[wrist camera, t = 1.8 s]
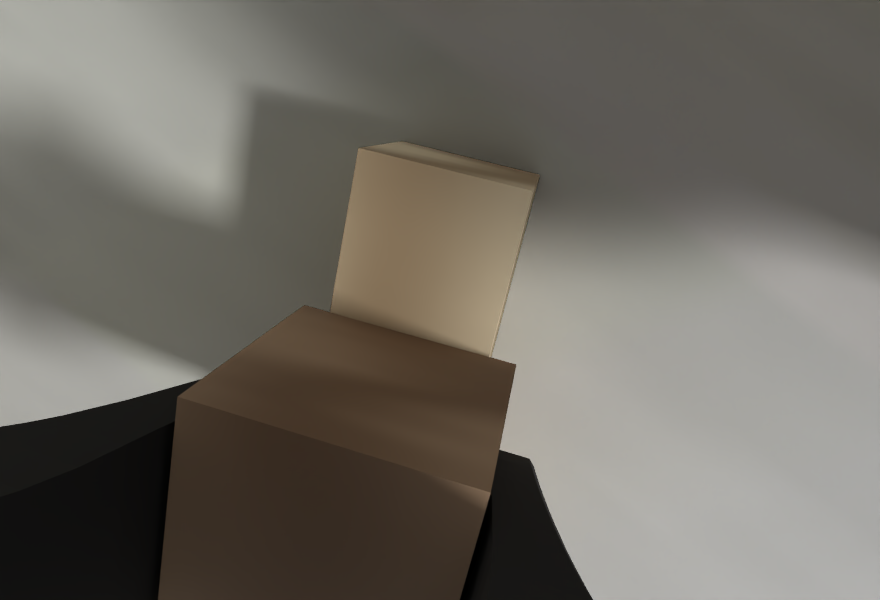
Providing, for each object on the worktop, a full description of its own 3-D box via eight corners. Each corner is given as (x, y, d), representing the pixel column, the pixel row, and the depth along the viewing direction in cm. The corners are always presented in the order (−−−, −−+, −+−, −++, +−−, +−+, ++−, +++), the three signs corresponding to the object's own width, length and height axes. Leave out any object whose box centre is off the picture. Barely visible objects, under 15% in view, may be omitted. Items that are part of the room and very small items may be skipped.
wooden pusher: (563, 180, 13) (561, 246, 6) (455, 565, 16) (379, 876, 10) (379, 135, 13) (200, 154, 7) (309, 518, 17) (139, 784, 10)
